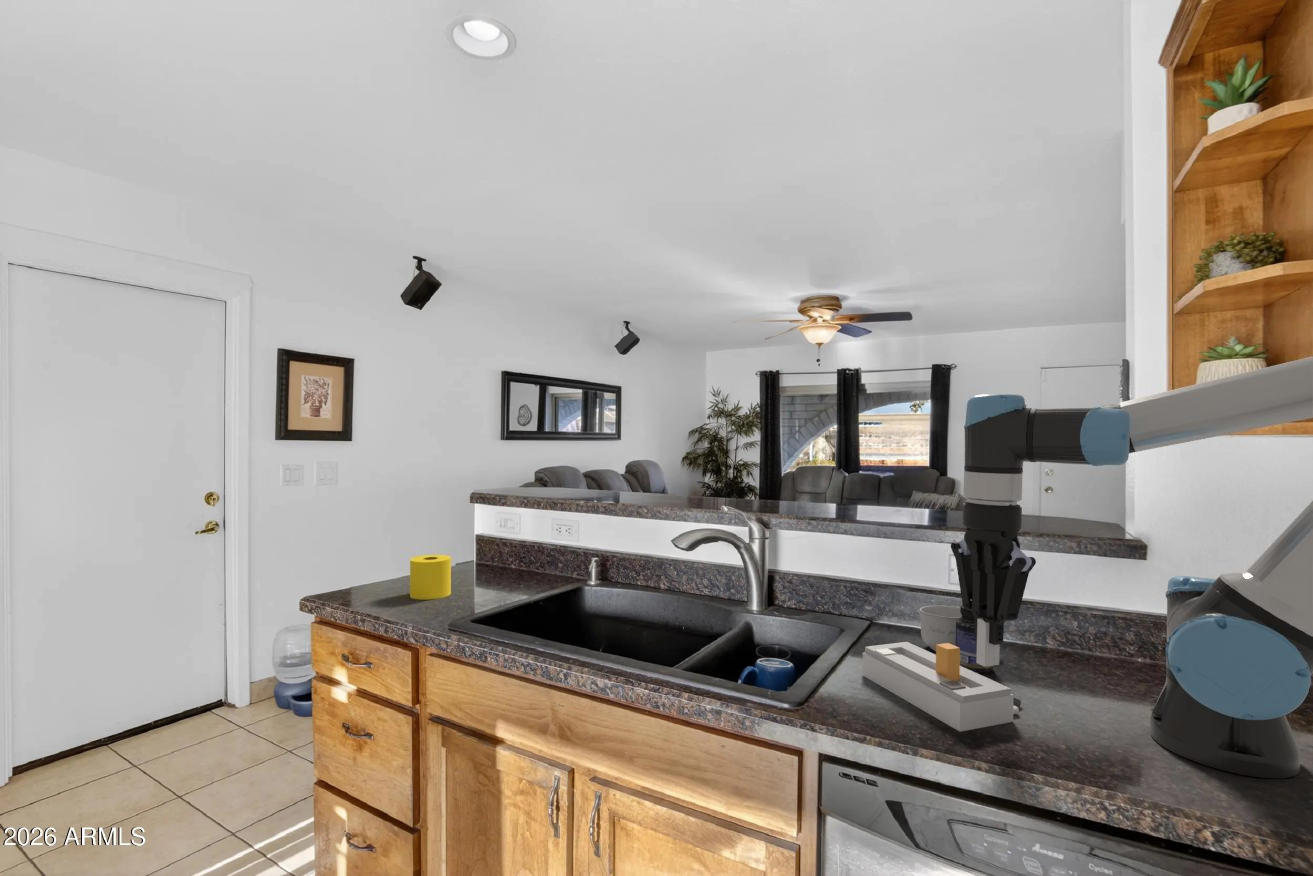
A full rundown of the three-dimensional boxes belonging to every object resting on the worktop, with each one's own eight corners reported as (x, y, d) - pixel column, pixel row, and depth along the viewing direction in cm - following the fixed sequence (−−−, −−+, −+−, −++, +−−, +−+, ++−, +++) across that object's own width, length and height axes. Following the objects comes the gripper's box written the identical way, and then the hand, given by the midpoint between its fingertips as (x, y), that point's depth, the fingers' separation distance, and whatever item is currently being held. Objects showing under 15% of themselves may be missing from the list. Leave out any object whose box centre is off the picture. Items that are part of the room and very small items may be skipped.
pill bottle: (997, 675, 111) (998, 613, 111) (960, 672, 113) (961, 610, 112) (986, 662, 117) (987, 604, 117) (951, 660, 119) (952, 602, 118)
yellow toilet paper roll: (412, 591, 167) (412, 555, 167) (451, 588, 170) (451, 554, 170) (407, 600, 158) (408, 563, 158) (449, 598, 160) (449, 561, 160)
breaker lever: (959, 679, 98) (959, 647, 98) (947, 681, 97) (947, 649, 97) (947, 674, 100) (948, 643, 100) (935, 676, 99) (936, 644, 99)
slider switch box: (1013, 721, 93) (1013, 686, 93) (959, 731, 90) (960, 695, 90) (908, 669, 114) (909, 640, 114) (862, 675, 111) (862, 645, 111)
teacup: (924, 657, 120) (924, 615, 120) (915, 639, 131) (915, 600, 131) (1004, 664, 117) (1004, 621, 117) (988, 645, 127) (988, 605, 127)
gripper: (1052, 506, 86) (1047, 678, 86) (976, 496, 98) (972, 646, 99) (1010, 507, 83) (1006, 684, 84) (937, 497, 96) (933, 651, 96)
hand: (987, 663), depth 91 cm, fingers closed
